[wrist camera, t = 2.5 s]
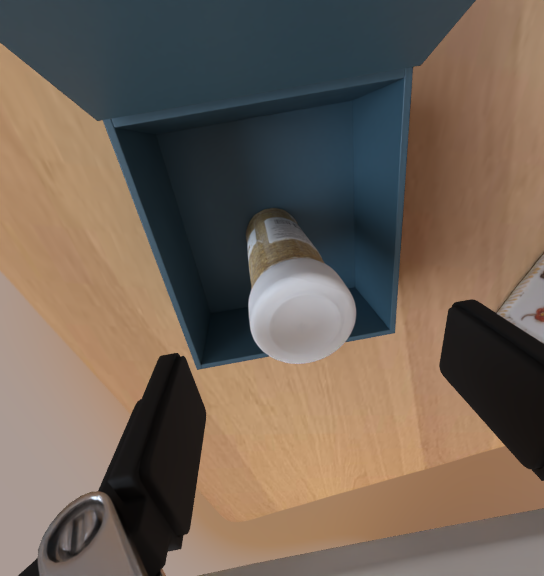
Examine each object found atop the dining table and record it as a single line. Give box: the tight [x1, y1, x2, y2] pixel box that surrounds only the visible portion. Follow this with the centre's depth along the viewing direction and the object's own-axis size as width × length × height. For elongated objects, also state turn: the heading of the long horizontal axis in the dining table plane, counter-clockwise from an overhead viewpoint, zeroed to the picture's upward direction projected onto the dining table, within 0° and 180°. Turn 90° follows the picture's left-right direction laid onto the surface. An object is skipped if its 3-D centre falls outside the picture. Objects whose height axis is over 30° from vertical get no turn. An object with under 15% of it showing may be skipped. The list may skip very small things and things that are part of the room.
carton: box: [103, 67, 413, 370], centre depth 20 cm, size 16×15×7 cm
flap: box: [0, 0, 476, 121], centre depth 8 cm, size 8×15×1 cm
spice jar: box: [246, 208, 356, 364], centre depth 17 cm, size 5×5×14 cm
